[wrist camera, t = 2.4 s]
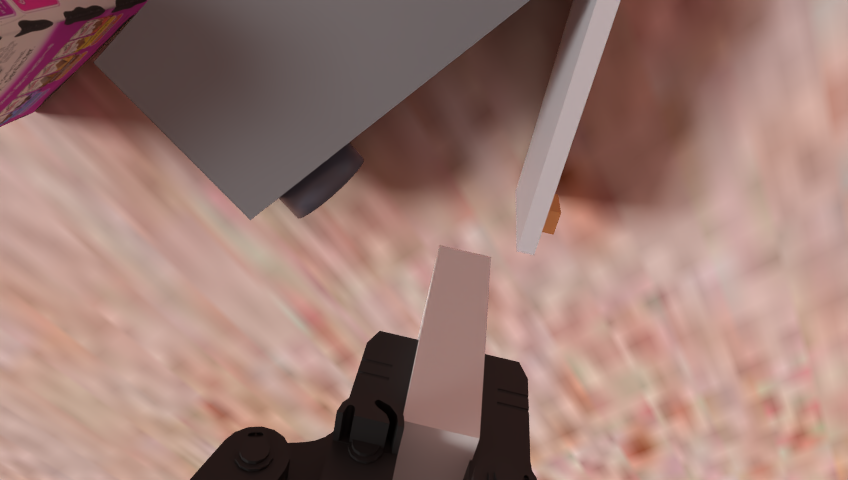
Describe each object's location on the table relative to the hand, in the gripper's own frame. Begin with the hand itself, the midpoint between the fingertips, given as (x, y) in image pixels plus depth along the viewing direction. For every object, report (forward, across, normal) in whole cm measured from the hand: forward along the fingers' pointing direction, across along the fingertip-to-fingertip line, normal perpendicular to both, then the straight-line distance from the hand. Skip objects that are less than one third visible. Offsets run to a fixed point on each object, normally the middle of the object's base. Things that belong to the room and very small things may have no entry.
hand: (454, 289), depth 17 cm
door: (+15, +4, +3) cm, 16 cm away
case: (+16, -7, +5) cm, 18 cm away
